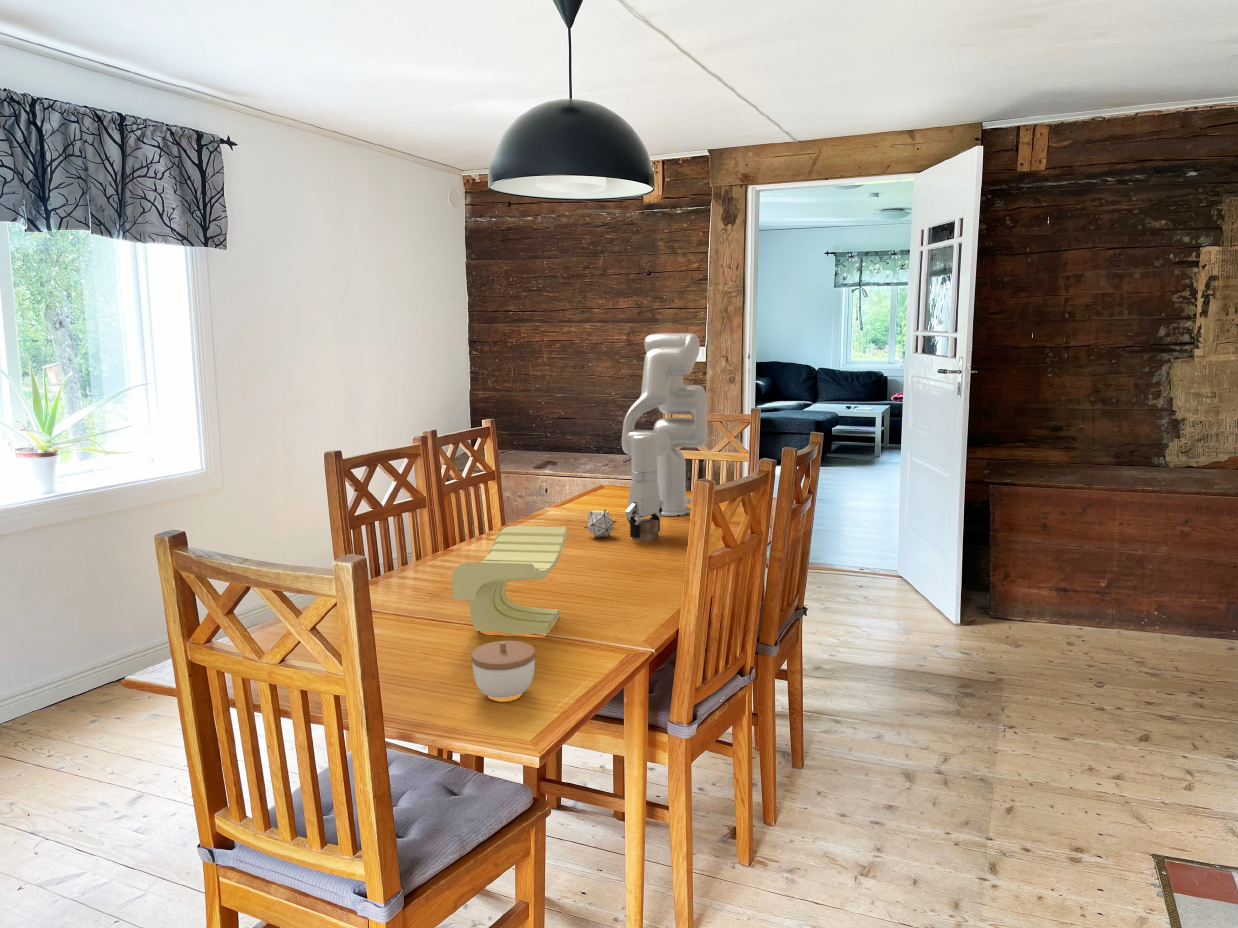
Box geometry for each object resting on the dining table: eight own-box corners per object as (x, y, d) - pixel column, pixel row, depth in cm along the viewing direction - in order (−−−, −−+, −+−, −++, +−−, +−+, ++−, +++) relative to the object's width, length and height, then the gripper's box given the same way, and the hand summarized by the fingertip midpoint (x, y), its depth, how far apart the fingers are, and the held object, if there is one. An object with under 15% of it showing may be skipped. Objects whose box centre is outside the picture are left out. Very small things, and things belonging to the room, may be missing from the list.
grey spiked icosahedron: (593, 526, 270) (593, 510, 269) (609, 527, 269) (608, 511, 268) (588, 529, 265) (588, 513, 265) (603, 530, 264) (603, 514, 263)
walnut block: (643, 536, 256) (643, 518, 256) (658, 538, 253) (658, 520, 252) (632, 540, 252) (631, 521, 251) (647, 542, 249) (647, 524, 248)
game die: (606, 550, 255) (615, 528, 248) (578, 541, 254) (587, 518, 248) (612, 530, 261) (621, 507, 255) (585, 520, 261) (594, 498, 255)
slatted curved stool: (500, 601, 197) (497, 525, 194) (568, 603, 195) (566, 526, 192) (455, 649, 168) (450, 561, 165) (534, 653, 166) (531, 563, 163)
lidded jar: (461, 703, 144) (458, 649, 143) (492, 678, 154) (490, 628, 153) (518, 712, 140) (516, 657, 139) (547, 686, 150) (545, 635, 149)
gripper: (651, 471, 259) (652, 527, 261) (616, 479, 245) (616, 538, 248) (672, 473, 254) (672, 530, 257) (637, 482, 241) (637, 542, 243)
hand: (645, 534), depth 252 cm, fingers open, 9 cm apart
